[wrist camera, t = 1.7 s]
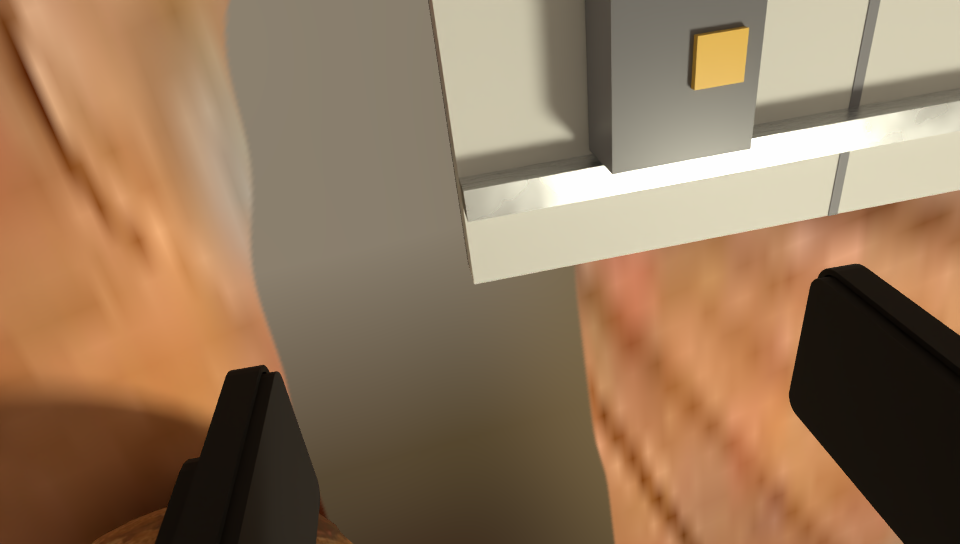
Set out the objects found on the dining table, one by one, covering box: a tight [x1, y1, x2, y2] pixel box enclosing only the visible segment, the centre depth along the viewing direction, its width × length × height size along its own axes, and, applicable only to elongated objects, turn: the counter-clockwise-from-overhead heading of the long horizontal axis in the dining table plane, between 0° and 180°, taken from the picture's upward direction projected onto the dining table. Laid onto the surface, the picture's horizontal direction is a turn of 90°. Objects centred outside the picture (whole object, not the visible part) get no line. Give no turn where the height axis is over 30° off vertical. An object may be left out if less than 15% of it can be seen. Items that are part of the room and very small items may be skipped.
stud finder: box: [585, 0, 768, 175], centre depth 25 cm, size 8×6×3 cm
